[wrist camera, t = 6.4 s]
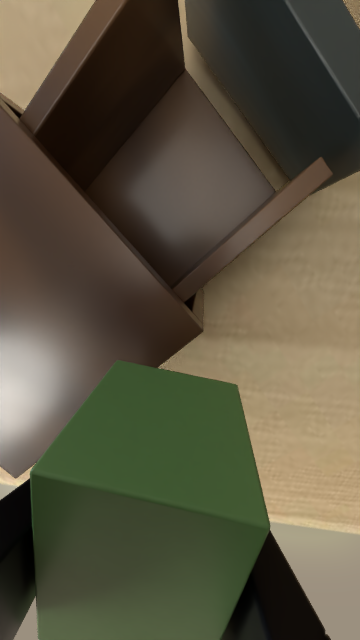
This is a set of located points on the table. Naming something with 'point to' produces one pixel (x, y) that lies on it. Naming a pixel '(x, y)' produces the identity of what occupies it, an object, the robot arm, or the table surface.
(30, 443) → the cabinet
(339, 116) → the drawer
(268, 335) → the table surface
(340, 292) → the table surface
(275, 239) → the table surface
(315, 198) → the table surface
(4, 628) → the robot arm
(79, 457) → the green block
